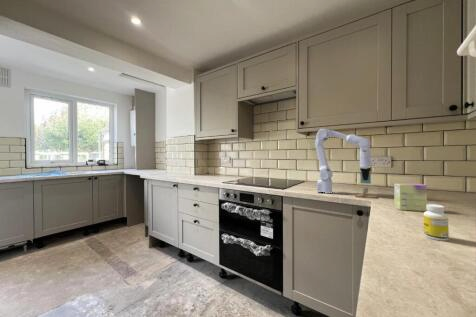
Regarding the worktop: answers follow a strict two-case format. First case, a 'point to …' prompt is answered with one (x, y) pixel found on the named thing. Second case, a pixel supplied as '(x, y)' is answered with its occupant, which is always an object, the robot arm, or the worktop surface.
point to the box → (410, 196)
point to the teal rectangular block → (366, 180)
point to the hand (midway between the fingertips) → (365, 179)
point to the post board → (365, 194)
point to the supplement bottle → (436, 223)
